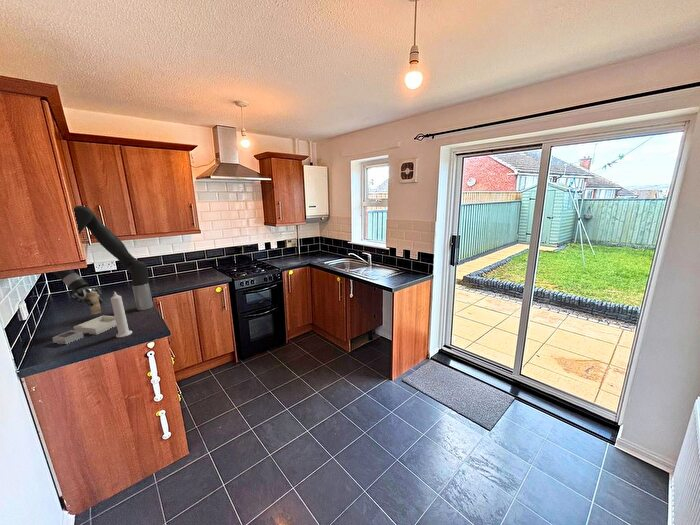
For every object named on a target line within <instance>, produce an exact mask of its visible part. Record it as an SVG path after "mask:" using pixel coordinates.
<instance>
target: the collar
mask: <svg viewBox="0 0 700 525" xmlns="http://www.w3.org/2000/svg"><path fill="white" fill-rule="evenodd" d="M80 338H81V339H83V338H85V336H84V333H83V332H82V331H74V329H73V330H68V331H65V332H63V333H62V332H61V333H60V334H57V335H55V336H53V337H52V342H53V344H54V343H57V344H56V345H62V344H67V345H69V344H71V343H70V342H72V343H74V342H76V341H79V340H81V339H80ZM78 339H79V340H78ZM75 340H76V341H75ZM73 341H74V342H73ZM68 343H69V344H68Z"/></svg>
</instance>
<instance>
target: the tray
mask: <svg viewBox="0 0 700 525" xmlns="http://www.w3.org/2000/svg"><path fill="white" fill-rule="evenodd" d="M112 327H113V328H115V327H117V324H116V320H115V316H114V315H104V314H103V315H101V316H97V317H96V318H92V319H90V320H88V321H85V322H83V323H79V324H77V325H74V326H73V331H82V332H83V334H86V333H89V334H88V335H99V334H101V333H103V332H106V331H107V330H110V328H111V329H113V328H112Z"/></svg>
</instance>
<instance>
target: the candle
mask: <svg viewBox="0 0 700 525" xmlns="http://www.w3.org/2000/svg"><path fill="white" fill-rule="evenodd" d="M110 302H111V306H112V311H113V316H115V320H116V324H117V326H116V328H117V332H118V333H116V335H115V337H116V338H118V339H119V338H125V337H127V336H131V335H132V334H133V331H132V330H130V329H129V325H128V321H127V320H128V319H127V316H126V312H125V307H124V303H123V298H122V295H120V294H119V295H118V294H117V292H116V291H113V295H112V296H111V297H110Z"/></svg>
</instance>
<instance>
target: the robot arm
mask: <svg viewBox="0 0 700 525" xmlns="http://www.w3.org/2000/svg"><path fill="white" fill-rule="evenodd" d="M73 208H74V211H75V217H76V221H77V224H78V230H79V234H80V235H81V232H82V231H83V230H84V229H85V227H86V228H87V229H88V230H89V232H90V233H91V234H92V236H93V237H94V239H96V241H97V242H98V244H100V245H101V247H103V248H104V249H105V250H106V251H107V252H108V253H109V254H111V255H112V256H113V257H114V258H115V259H117V260H118V261H119V262H120V263H121V264H122V266H123V267H124V268H125V269H126V271H128V272H129V274H131V282H130V283H131V287H132V291H133V297H134V300H135V306H136V310H137V311H145V310H149V309H152V308H153V307H154V303H153V298H152V292H151V289H150V288H151V287H150V283H149V279H150V278H149V270H148V266H147V264H146V263H145V262H143V261H140V260H138V259H136V257H134V255H132V254H131V253H130V252H129V250H128V249H127V247H126V246H125V244H124V243H123V241H122V240H121V239H120V238H119V237H117V236H116V234H115V233H114V232H113V231H111V230H110V229H109V228H108V227H107V226H105V225H104V224H103V223H102V222H101V221H100V219H99V218H98V217H97V216H96V215H95V213H94V212H93V210H91V209H90V207H88V206H84V205H76V206H75V207H73ZM51 273H52V274H53V275H55V276H57V277H58V278H59V279H60V280H61V281H62V282H63V283H64V284H65V285H66V287H67V288H69V290H71V291H72V292H73V293H72V294H71V296H70V298H72V299H73V300H74V301H77V302H79V303H80V304H82V303H85V304H86V305H87V306H89V307H90V306H93V305H94V303H93V302H92V301H91V300H88V297H87V293H90V292H97V294H98V298H99V303H100V304H102V303H103V302H104V300H103V298H102V297H101V296H102V291H101V290H100V288H99V286H96V287H91V286H90V284H89V283H88V282H87V281H86V280H85V279H84V278H83V277H82V276H81V275H79V273H77V272H76V271H75V270H69V271H60V272H51Z"/></svg>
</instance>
